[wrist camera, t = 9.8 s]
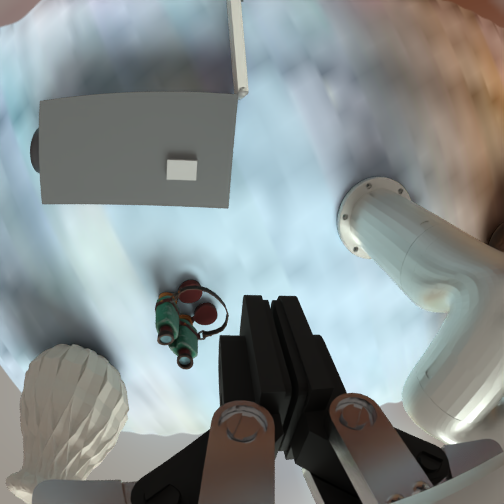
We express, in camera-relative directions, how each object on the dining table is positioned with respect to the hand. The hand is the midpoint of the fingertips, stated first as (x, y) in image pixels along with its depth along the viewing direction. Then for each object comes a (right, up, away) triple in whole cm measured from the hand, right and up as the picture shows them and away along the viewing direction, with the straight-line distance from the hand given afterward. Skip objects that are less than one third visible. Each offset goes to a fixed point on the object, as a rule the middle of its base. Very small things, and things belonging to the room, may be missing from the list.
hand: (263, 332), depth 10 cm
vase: (-32, -19, +41) cm, 55 cm away
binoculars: (-9, -5, +37) cm, 38 cm away
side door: (-2, +28, +22) cm, 36 cm away
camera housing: (-15, +17, +26) cm, 34 cm away
